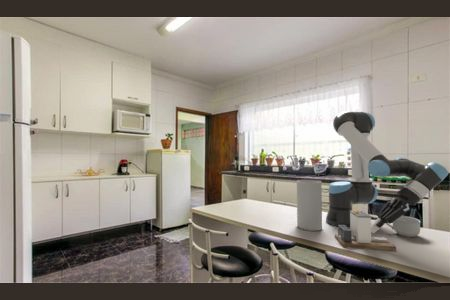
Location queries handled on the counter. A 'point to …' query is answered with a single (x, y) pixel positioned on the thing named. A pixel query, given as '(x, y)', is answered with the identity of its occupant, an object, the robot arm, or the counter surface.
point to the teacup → (406, 226)
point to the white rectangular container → (360, 226)
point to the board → (367, 244)
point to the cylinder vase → (309, 205)
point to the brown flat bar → (373, 239)
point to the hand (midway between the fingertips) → (370, 230)
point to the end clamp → (345, 233)
